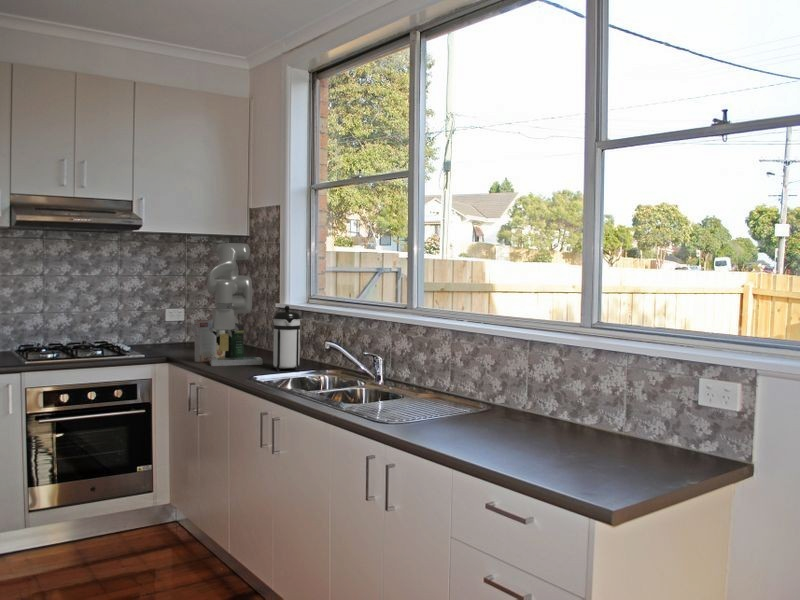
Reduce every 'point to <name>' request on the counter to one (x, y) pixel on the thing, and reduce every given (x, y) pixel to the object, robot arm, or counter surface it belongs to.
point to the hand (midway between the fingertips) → (223, 344)
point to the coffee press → (286, 339)
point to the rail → (235, 361)
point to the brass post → (223, 341)
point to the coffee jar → (236, 343)
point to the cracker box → (206, 342)
